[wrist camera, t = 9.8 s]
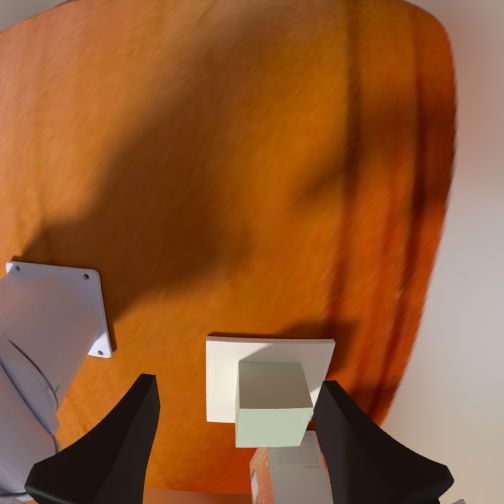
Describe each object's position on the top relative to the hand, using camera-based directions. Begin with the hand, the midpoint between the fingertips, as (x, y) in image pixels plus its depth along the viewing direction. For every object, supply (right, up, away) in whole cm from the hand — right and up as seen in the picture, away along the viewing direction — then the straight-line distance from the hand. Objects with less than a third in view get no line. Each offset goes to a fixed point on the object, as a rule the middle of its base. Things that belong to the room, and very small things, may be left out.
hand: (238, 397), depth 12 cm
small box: (+4, -16, +17) cm, 23 cm away
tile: (+2, -5, +13) cm, 14 cm away
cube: (+2, -5, +12) cm, 13 cm away
